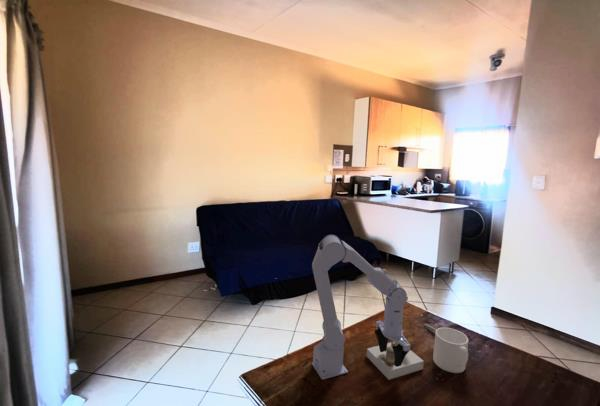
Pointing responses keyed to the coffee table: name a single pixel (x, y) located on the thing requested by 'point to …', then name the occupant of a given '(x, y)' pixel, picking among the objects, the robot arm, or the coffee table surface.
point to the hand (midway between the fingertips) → (390, 358)
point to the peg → (390, 356)
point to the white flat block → (408, 365)
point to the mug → (450, 350)
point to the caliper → (430, 328)
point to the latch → (407, 340)
